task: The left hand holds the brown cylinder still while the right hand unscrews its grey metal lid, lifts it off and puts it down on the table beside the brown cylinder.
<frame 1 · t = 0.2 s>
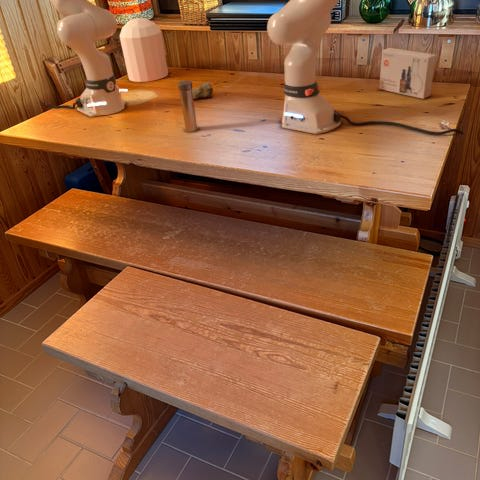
container: (148, 76, 243), on the table
brown cylinder: (191, 129, 175), on the table
skincare box: (403, 93, 189), on the table
lid: (184, 83, 165), point 17 cm above the table, screwed on, not yet turned
rock: (200, 96, 207), on the table
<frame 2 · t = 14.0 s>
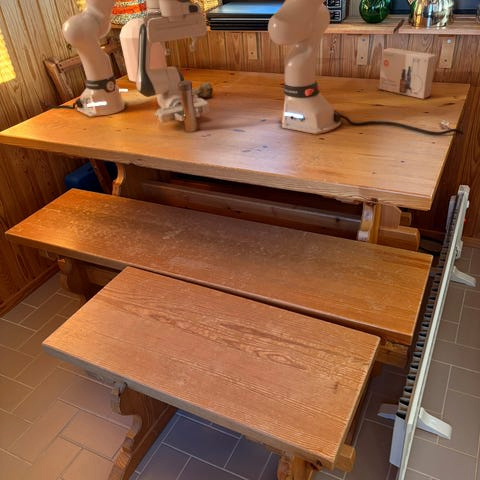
left hand: (190, 117, 171), 5 cm above the table, tool horizontal, fingers closed on brown cylinder, 4 cm apart
right hand: (180, 52, 159), 28 cm above the table, tool pointing down, fingers open, 7 cm apart
brown cylinder: (191, 129, 175), on the table, touching left hand
everything else where it was.
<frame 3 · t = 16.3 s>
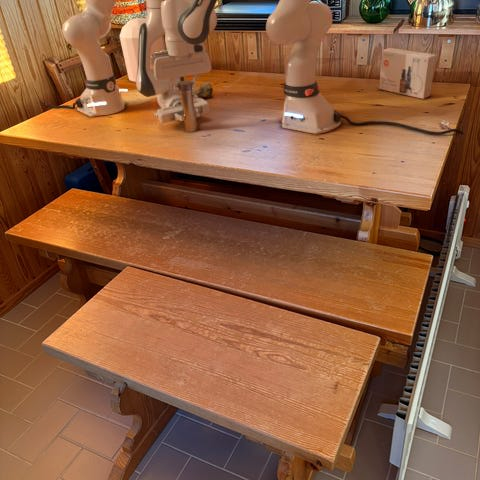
left hand: (190, 117, 171), 5 cm above the table, tool horizontal, fingers closed on brown cylinder, 4 cm apart
right hand: (185, 88, 166), 15 cm above the table, tool pointing down, fingers closed on lid, 5 cm apart
brown cylinder: (191, 129, 175), on the table, touching left hand
lid: (184, 83, 165), point 17 cm above the table, screwed on, not yet turned, touching right hand
everything else where it was.
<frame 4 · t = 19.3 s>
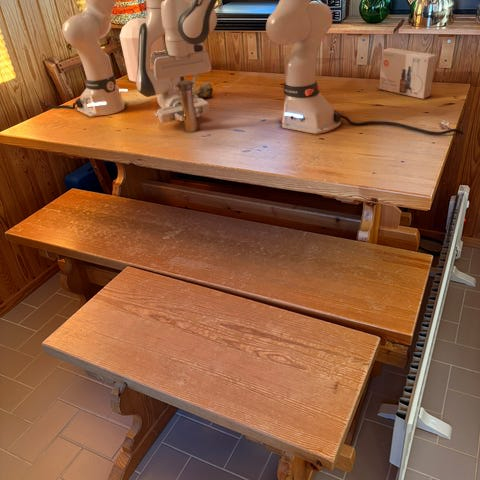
left hand: (190, 117, 171), 5 cm above the table, tool horizontal, fingers closed on brown cylinder, 4 cm apart
right hand: (185, 88, 166), 16 cm above the table, tool pointing down, fingers closed on lid, 5 cm apart
brown cylinder: (191, 129, 175), on the table, touching left hand
lid: (184, 83, 165), point 17 cm above the table, turned 71° so far, risen 0.1 cm, still on its thread, touching right hand
everything else where it was.
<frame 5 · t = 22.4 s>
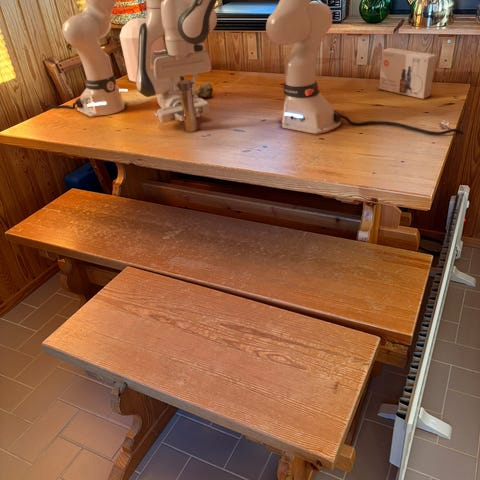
left hand: (190, 117, 171), 5 cm above the table, tool horizontal, fingers closed on brown cylinder, 4 cm apart
right hand: (185, 88, 166), 16 cm above the table, tool pointing down, fingers closed on lid, 5 cm apart
brown cylinder: (191, 129, 175), on the table, touching left hand
lid: (184, 82, 165), point 17 cm above the table, turned 142° so far, risen 0.2 cm, still on its thread, touching right hand
everything else where it was.
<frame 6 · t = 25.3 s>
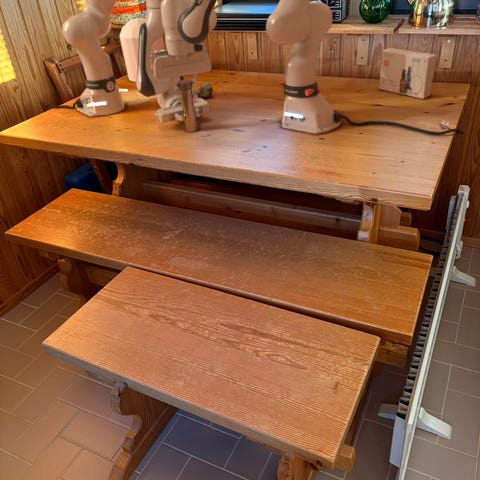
left hand: (190, 116, 171), 5 cm above the table, tool horizontal, fingers closed on brown cylinder, 4 cm apart
right hand: (185, 87, 166), 16 cm above the table, tool pointing down, fingers closed on lid, 5 cm apart
brown cylinder: (191, 129, 175), on the table, touching left hand
lid: (184, 82, 165), point 18 cm above the table, turned 212° so far, risen 0.2 cm, still on its thread, touching right hand
everything else where it was.
when the right hand's fingers open (2 cm above the table, at t = 33.7 s): lid drops 2 cm, point 2 cm above the table.
when the left hand's fingers open (5 cm above the table, at t = 34.7 s): brown cylinder stays where it is, on the table.
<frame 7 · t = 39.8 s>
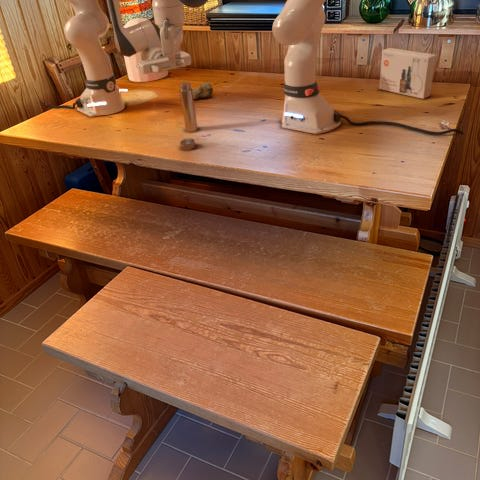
left hand: (171, 67, 173), 21 cm above the table, tool horizontal, fingers open, 8 cm apart
right hand: (176, 64, 146), 28 cm above the table, tool pointing down, fingers open, 8 cm apart
brown cylinder: (191, 129, 175), on the table
lid: (187, 142, 160), point 2 cm above the table, off its thread
everything else where it was.
at the end: lid came off its thread; lid point 1.8 cm above the table; the left hand is holding nothing; the right hand is holding nothing; brown cylinder tilted 0°; brown cylinder moved 0.1 cm from its start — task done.
